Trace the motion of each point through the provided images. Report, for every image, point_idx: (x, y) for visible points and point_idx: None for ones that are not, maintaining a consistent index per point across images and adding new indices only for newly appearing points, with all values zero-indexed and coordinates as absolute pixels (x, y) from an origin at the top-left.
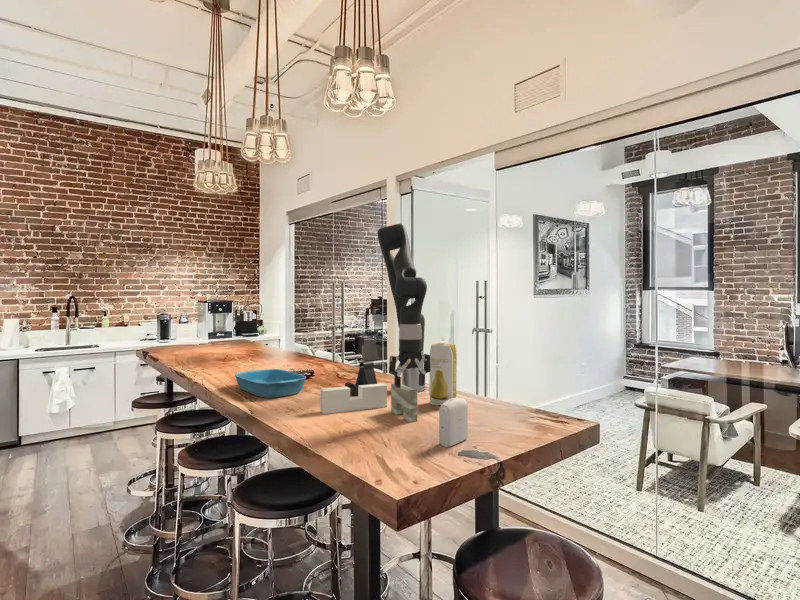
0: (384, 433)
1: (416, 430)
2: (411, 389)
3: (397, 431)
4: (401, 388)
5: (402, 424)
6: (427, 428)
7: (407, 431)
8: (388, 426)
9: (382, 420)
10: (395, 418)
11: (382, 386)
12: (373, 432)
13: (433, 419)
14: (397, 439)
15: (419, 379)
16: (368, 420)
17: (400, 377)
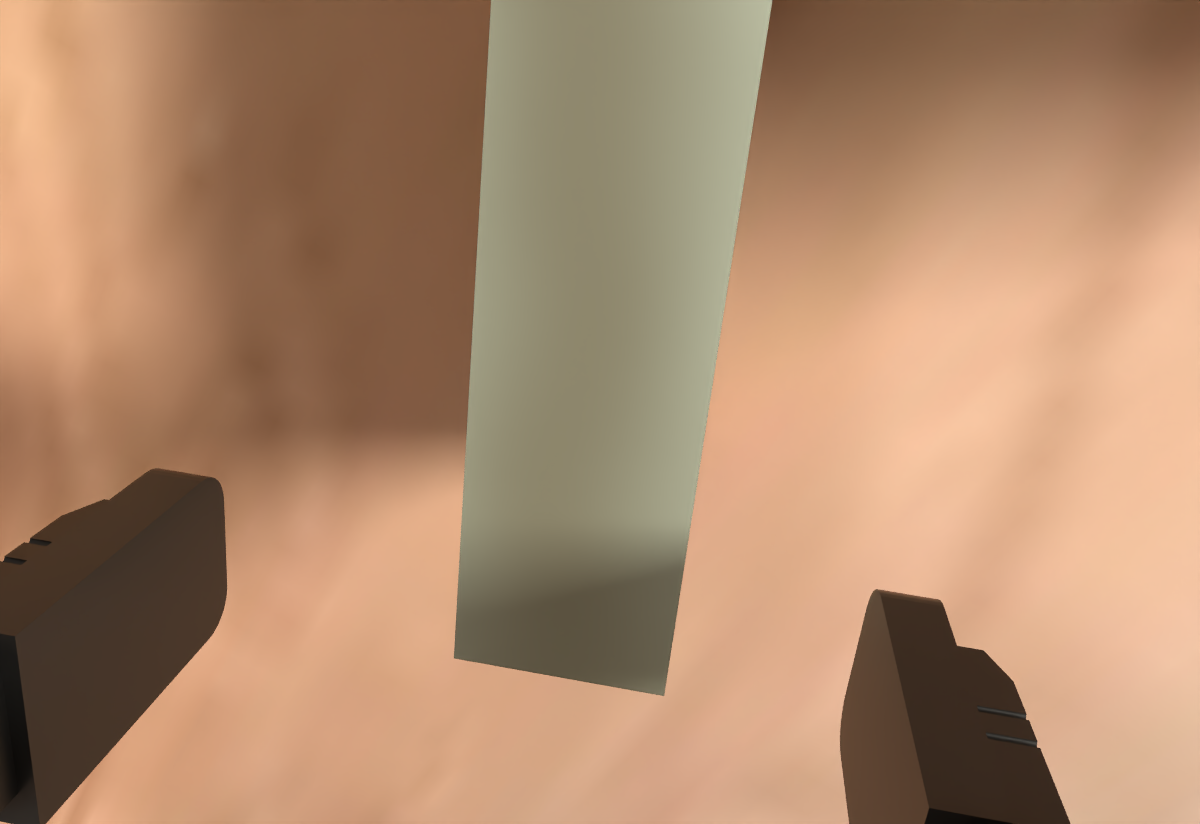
0: None
1: (472, 700)
2: (623, 522)
3: (268, 617)
4: (480, 253)
5: (444, 441)
6: (623, 715)
7: (366, 674)
8: (249, 415)
9: (282, 130)
10: None
11: None
12: (18, 507)
13: (957, 484)
14: (170, 792)
15: (887, 715)
16: (97, 17)
17: (49, 811)
